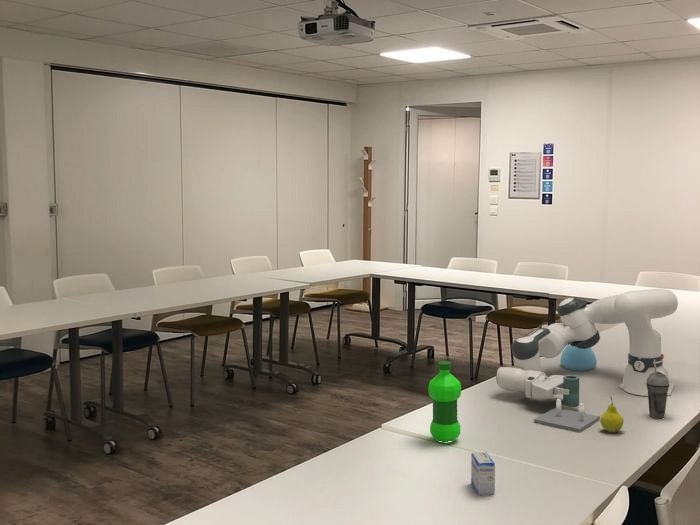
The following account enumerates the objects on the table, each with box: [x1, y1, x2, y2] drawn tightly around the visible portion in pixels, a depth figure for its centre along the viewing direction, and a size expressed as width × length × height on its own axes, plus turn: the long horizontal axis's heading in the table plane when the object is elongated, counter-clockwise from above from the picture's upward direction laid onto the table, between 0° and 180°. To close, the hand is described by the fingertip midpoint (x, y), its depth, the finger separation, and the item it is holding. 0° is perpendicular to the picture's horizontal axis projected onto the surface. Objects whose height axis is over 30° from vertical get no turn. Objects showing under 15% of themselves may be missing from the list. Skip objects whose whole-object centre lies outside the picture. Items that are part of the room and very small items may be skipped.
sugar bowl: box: [560, 343, 598, 371], centre depth 311 cm, size 15×15×12 cm
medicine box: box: [470, 451, 496, 496], centre depth 190 cm, size 8×4×9 cm, turn 5°
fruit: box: [599, 397, 624, 434], centre depth 230 cm, size 7×7×12 cm
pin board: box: [533, 398, 601, 434], centre depth 241 cm, size 16×16×7 cm
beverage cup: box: [646, 359, 670, 420], centre depth 242 cm, size 7×7×20 cm
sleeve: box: [562, 374, 580, 408], centre depth 252 cm, size 5×5×10 cm
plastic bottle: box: [428, 360, 462, 442], centre depth 225 cm, size 10×10×25 cm
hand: (573, 390), depth 252 cm, fingers closed on sleeve, 5 cm apart
